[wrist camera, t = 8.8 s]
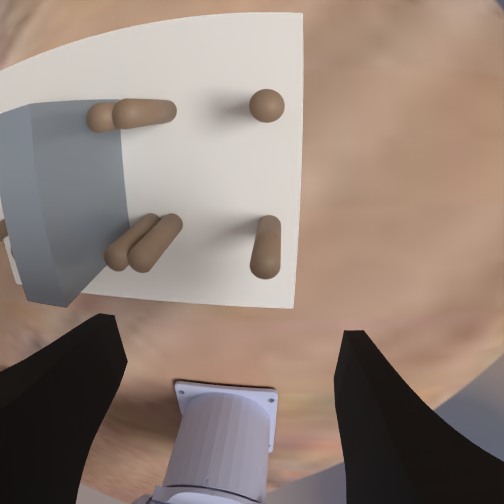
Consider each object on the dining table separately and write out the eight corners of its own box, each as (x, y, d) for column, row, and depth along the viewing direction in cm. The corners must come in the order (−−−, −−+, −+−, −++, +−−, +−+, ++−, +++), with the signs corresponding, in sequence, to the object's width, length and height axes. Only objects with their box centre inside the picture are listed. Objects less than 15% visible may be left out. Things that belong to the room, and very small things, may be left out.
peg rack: (292, 299, 20) (294, 361, 15) (23, 278, 21) (-18, 314, 16) (301, 18, 13) (309, -21, 8) (-6, 77, 15) (-62, 83, 10)
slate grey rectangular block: (131, 240, 18) (66, 307, 11) (97, 239, 18) (27, 300, 12) (119, 99, 14) (30, 103, 8) (82, 105, 15) (-9, 117, 8)
